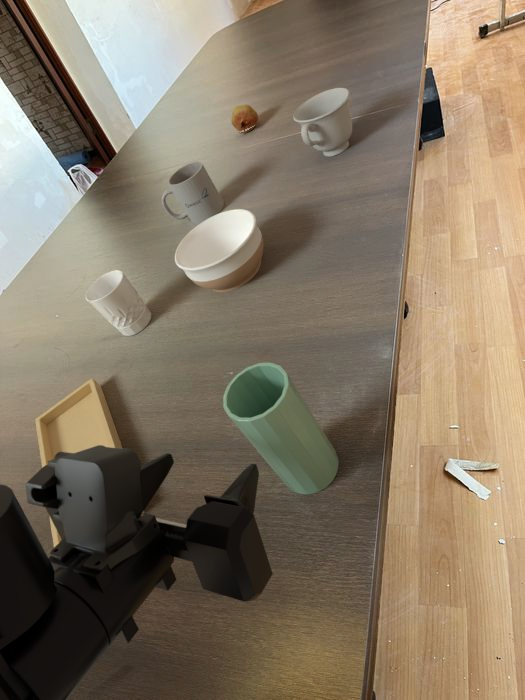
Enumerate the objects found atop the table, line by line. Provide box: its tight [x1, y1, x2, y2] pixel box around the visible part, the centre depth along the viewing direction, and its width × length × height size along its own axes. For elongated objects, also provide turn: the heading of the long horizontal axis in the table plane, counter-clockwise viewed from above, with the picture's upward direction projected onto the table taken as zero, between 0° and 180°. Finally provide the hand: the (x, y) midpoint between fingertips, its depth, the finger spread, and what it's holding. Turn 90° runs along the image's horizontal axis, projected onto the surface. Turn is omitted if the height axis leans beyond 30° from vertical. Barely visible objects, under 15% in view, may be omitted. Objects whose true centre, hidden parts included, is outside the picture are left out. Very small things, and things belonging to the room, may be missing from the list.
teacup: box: [292, 87, 353, 158], centre depth 101 cm, size 12×15×10 cm
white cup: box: [85, 269, 152, 337], centre depth 90 cm, size 8×8×10 cm
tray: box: [34, 377, 146, 548], centre depth 72 cm, size 30×12×2 cm, turn 29°
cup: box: [222, 362, 339, 495], centre depth 52 cm, size 7×7×15 cm
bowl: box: [174, 208, 265, 293], centre depth 88 cm, size 16×16×8 cm
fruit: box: [230, 104, 259, 134], centre depth 132 cm, size 7×7×10 cm
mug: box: [161, 160, 225, 225], centre depth 109 cm, size 12×9×10 cm
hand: (211, 462), depth 43 cm, fingers open, 9 cm apart
